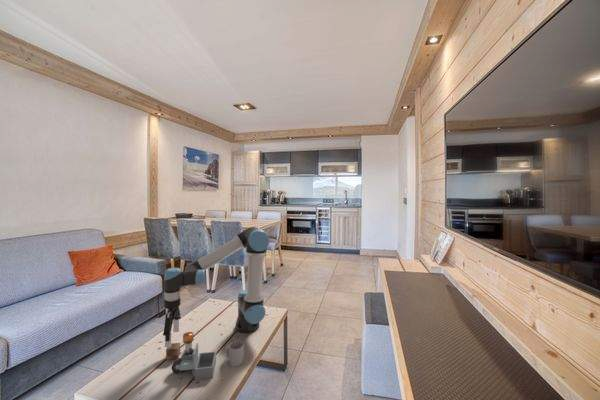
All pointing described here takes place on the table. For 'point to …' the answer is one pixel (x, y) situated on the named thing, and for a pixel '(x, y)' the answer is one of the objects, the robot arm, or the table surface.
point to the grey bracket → (186, 362)
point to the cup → (235, 353)
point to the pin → (188, 342)
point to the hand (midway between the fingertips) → (172, 338)
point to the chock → (173, 352)
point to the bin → (205, 365)
